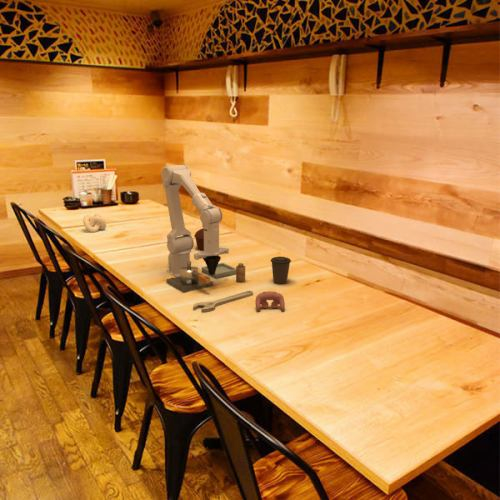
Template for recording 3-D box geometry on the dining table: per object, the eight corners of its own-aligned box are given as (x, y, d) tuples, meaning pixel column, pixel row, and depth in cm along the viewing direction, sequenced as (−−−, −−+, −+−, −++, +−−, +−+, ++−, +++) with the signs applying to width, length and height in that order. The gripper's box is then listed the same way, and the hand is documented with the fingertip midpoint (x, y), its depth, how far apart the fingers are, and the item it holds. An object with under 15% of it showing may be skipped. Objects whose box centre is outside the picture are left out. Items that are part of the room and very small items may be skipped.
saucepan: (176, 279, 182) (176, 261, 180) (192, 275, 187) (192, 257, 184) (199, 291, 170) (199, 272, 168) (215, 287, 174) (215, 268, 172)
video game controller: (283, 312, 162) (283, 291, 163) (285, 311, 157) (284, 290, 159) (255, 312, 162) (255, 291, 163) (255, 311, 157) (255, 290, 158)
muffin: (220, 246, 234) (220, 226, 231) (216, 252, 223) (216, 232, 221) (196, 245, 235) (196, 225, 232) (192, 251, 224) (191, 231, 222)
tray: (201, 271, 196) (201, 267, 196) (223, 267, 203) (222, 262, 202) (216, 279, 188) (216, 274, 188) (238, 273, 195) (238, 269, 194)
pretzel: (82, 229, 264) (81, 213, 262) (104, 227, 269) (103, 211, 267) (84, 233, 254) (83, 217, 252) (107, 231, 259) (106, 215, 257)
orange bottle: (234, 280, 187) (234, 263, 185) (241, 278, 189) (241, 261, 187) (239, 283, 184) (239, 265, 182) (246, 281, 186) (247, 264, 184)
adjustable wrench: (250, 293, 175) (250, 289, 174) (260, 299, 170) (260, 294, 169) (190, 308, 161) (190, 304, 160) (200, 315, 156) (200, 310, 155)
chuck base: (166, 282, 183) (166, 279, 183) (194, 276, 191) (194, 272, 191) (183, 292, 174) (183, 289, 173) (212, 285, 181) (212, 281, 181)
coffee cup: (289, 286, 181) (290, 261, 178) (268, 284, 183) (268, 260, 180) (291, 279, 189) (292, 255, 186) (271, 277, 190) (272, 254, 188)
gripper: (200, 245, 169) (201, 281, 172) (233, 239, 177) (233, 273, 181) (190, 241, 174) (191, 275, 178) (222, 235, 183) (222, 268, 186)
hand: (211, 274), depth 180 cm, fingers closed
